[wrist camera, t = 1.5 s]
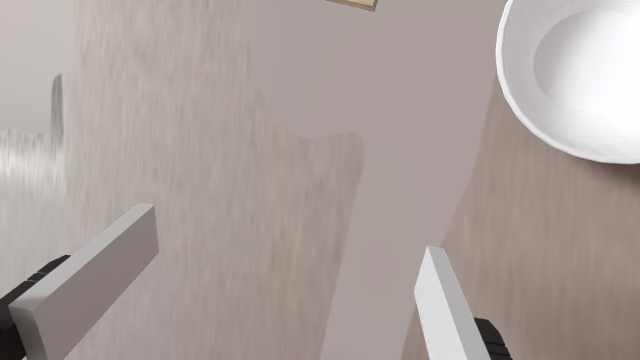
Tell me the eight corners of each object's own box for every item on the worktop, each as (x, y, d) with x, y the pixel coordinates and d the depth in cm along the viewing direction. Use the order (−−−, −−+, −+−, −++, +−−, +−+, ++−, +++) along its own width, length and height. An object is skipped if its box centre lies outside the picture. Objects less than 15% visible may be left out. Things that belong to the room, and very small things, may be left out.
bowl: (556, -77, 32) (603, -148, 24) (765, 13, 29) (897, -35, 21) (440, 100, 37) (448, 88, 29) (610, 195, 34) (670, 211, 26)
